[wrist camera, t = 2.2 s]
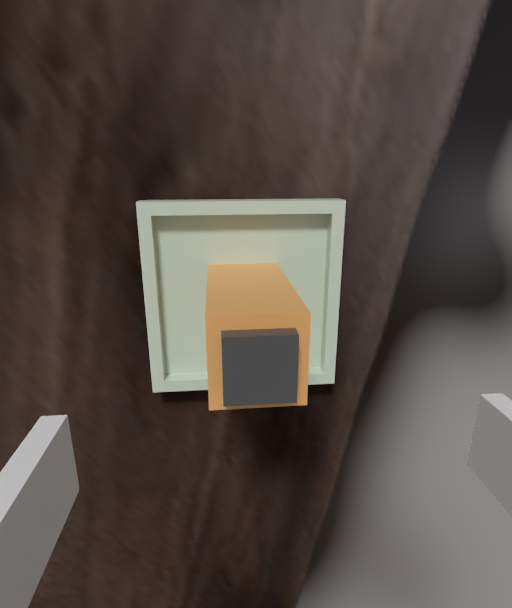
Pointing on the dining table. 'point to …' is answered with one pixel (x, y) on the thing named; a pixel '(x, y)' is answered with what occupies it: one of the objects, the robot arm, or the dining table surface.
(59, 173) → the dining table surface
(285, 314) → the orange capped pillar
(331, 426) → the dining table surface
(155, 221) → the tray
